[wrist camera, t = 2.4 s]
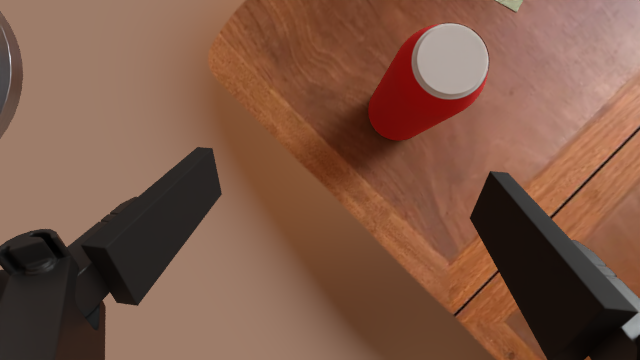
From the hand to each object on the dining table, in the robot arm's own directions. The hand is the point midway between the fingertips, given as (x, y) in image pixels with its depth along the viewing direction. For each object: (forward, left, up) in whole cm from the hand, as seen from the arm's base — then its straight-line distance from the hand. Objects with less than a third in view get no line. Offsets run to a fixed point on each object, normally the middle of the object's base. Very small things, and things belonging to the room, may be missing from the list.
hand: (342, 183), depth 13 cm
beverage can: (+2, +10, -15) cm, 18 cm away
